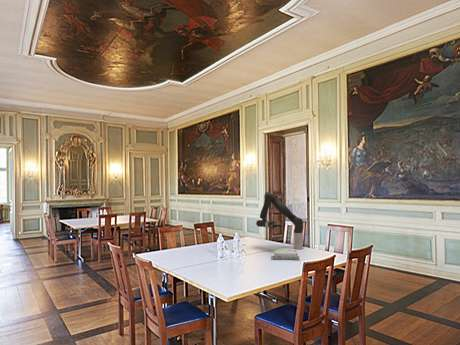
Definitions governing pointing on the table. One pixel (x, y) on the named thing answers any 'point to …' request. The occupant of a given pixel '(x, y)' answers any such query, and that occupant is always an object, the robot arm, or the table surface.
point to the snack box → (285, 254)
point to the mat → (283, 259)
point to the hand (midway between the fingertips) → (281, 225)
